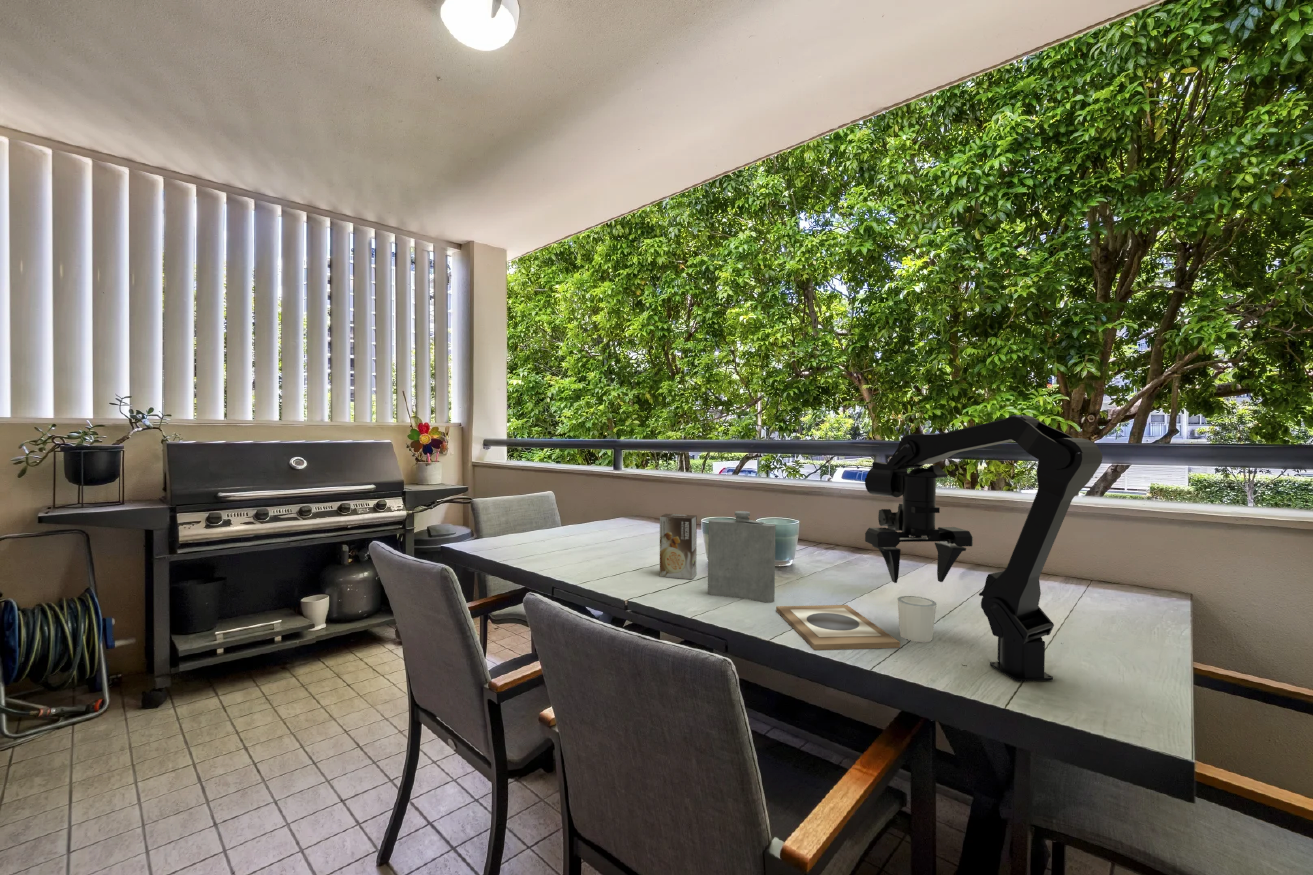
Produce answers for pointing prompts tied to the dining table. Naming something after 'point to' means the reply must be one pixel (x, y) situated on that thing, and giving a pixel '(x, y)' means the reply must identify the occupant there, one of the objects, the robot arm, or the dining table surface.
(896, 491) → the robot arm
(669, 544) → the coffee box
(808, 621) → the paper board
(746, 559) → the hip flask
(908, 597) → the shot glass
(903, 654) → the dining table surface
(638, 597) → the dining table surface
